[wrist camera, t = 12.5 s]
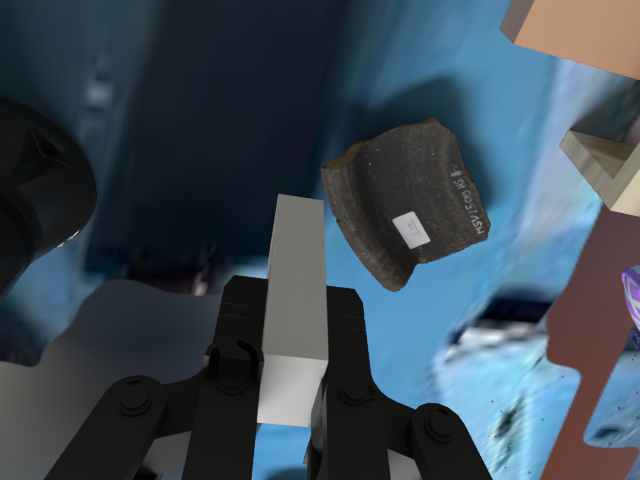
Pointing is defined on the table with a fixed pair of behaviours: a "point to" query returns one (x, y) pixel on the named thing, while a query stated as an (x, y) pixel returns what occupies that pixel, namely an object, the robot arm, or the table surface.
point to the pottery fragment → (405, 200)
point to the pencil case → (633, 299)
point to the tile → (579, 31)
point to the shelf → (607, 169)
